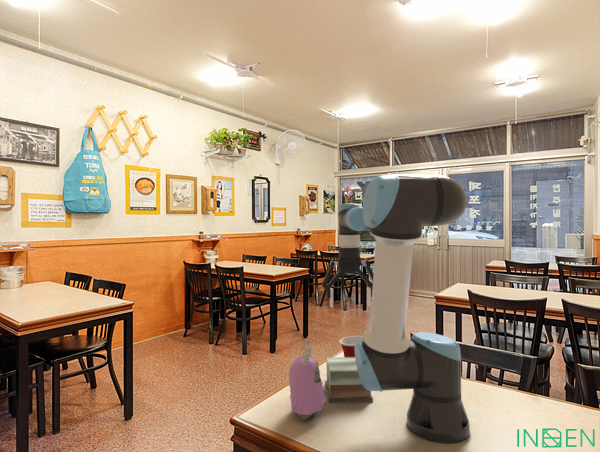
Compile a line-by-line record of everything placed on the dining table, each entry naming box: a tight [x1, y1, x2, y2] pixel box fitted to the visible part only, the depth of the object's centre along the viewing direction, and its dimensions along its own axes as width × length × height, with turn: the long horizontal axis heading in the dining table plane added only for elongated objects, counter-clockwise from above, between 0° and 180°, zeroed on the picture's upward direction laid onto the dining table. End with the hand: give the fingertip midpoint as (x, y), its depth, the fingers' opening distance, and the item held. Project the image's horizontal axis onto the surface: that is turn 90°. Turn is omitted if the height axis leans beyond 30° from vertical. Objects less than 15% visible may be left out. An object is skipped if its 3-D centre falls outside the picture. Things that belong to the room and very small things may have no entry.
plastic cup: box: [339, 335, 363, 357], centre depth 132 cm, size 11×11×12 cm
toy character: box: [288, 339, 327, 421], centre depth 102 cm, size 12×10×20 cm
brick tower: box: [324, 356, 374, 404], centre depth 115 cm, size 13×13×9 cm
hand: (350, 306), depth 131 cm, fingers open, 13 cm apart
